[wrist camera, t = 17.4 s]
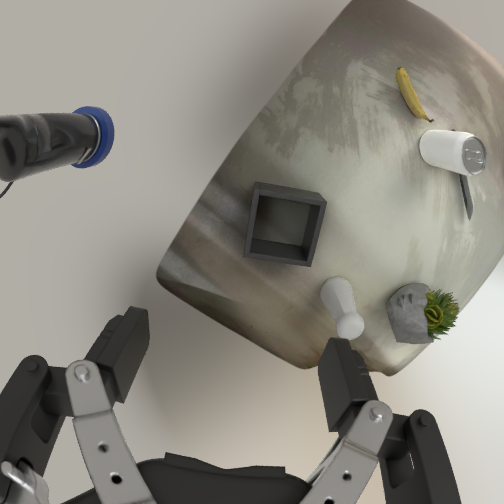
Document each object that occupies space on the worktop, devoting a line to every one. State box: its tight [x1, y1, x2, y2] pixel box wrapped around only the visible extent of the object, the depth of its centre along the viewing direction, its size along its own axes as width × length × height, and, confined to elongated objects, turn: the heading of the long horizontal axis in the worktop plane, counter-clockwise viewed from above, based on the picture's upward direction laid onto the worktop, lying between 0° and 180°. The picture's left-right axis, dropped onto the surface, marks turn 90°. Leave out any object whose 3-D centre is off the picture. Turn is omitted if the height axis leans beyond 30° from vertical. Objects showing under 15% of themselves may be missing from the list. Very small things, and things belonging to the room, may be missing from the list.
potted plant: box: [386, 284, 459, 344], centre depth 44 cm, size 12×13×15 cm
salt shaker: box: [321, 277, 365, 340], centre depth 43 cm, size 6×6×13 cm
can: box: [419, 130, 487, 176], centre depth 32 cm, size 6×6×12 cm
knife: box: [451, 130, 473, 221], centre depth 38 cm, size 18×2×3 cm, turn 27°
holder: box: [243, 182, 327, 267], centre depth 41 cm, size 10×10×6 cm
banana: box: [396, 67, 434, 122], centre depth 33 cm, size 10×2×4 cm, turn 38°
